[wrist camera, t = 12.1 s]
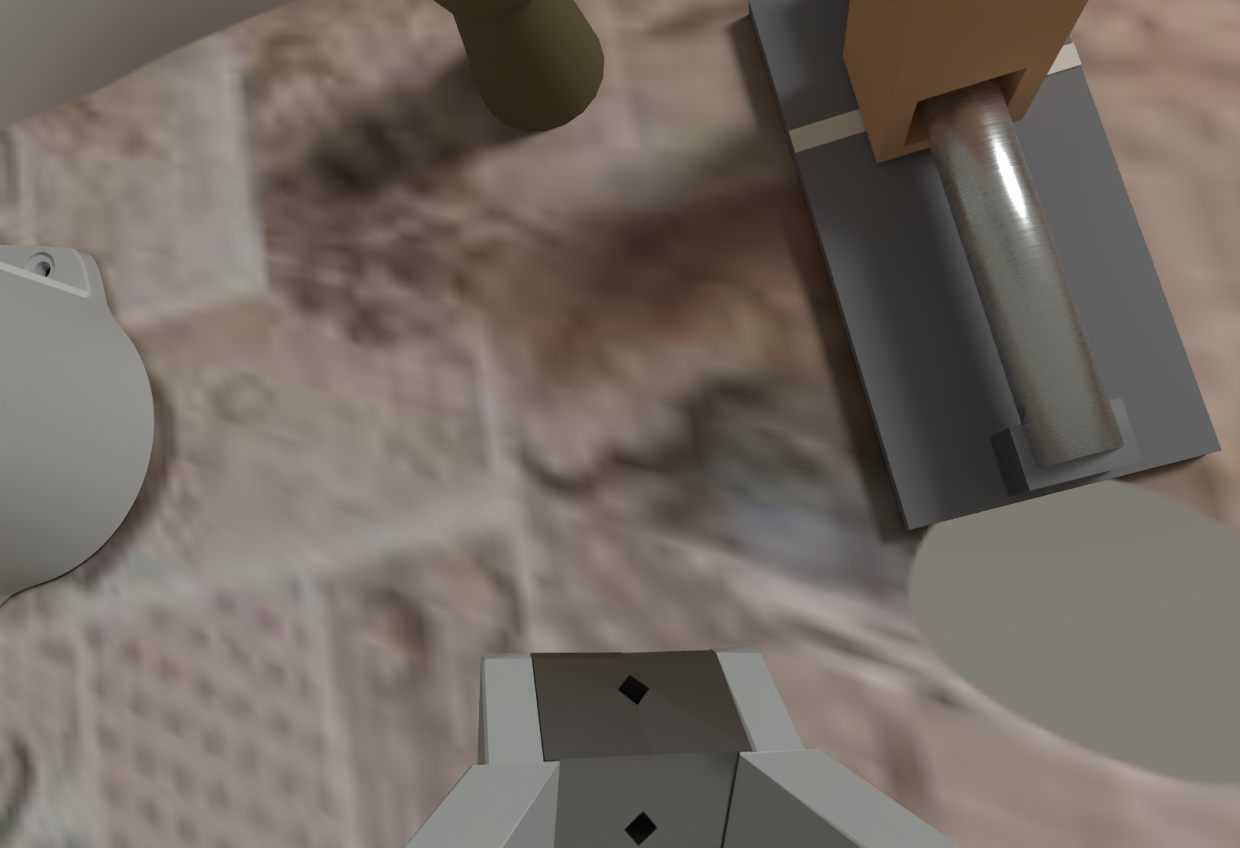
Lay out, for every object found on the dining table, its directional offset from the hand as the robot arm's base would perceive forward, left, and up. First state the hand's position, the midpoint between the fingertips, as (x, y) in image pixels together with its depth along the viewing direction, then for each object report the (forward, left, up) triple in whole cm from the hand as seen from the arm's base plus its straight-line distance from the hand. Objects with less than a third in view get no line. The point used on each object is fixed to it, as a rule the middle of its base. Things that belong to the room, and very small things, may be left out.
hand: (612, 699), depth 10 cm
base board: (+5, +18, -30) cm, 36 cm away
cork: (-15, +21, -31) cm, 40 cm away
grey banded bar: (+5, +18, -29) cm, 35 cm away
